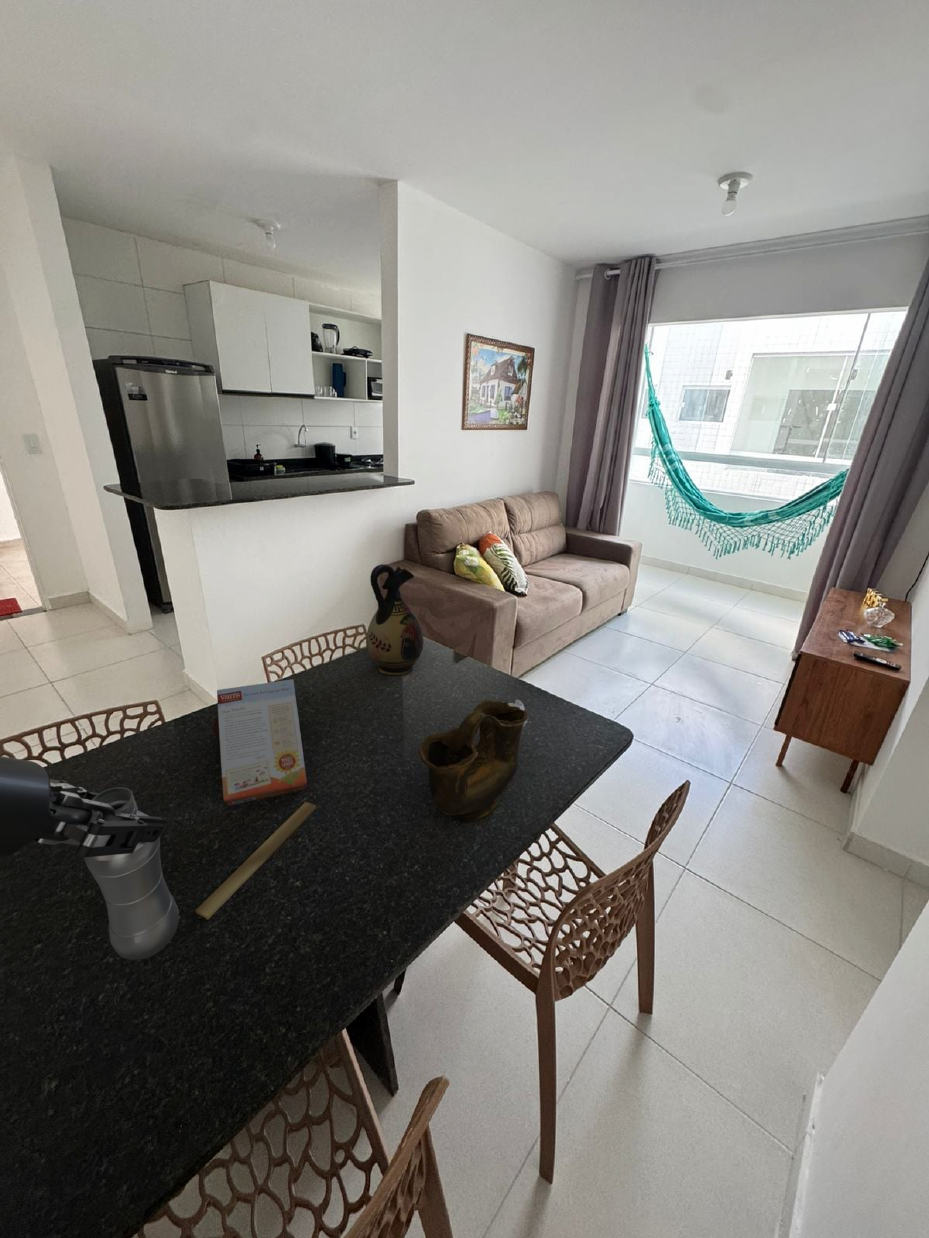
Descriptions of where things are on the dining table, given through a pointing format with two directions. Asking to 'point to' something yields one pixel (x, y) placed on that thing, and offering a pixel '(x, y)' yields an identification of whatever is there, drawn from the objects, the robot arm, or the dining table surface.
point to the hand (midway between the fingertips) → (136, 817)
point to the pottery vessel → (474, 760)
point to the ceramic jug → (393, 625)
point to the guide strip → (254, 862)
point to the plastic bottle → (134, 890)
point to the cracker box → (260, 742)
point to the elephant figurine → (518, 704)
